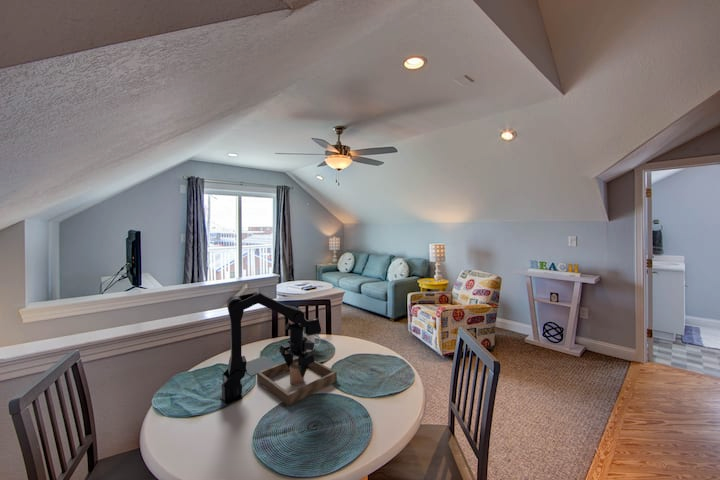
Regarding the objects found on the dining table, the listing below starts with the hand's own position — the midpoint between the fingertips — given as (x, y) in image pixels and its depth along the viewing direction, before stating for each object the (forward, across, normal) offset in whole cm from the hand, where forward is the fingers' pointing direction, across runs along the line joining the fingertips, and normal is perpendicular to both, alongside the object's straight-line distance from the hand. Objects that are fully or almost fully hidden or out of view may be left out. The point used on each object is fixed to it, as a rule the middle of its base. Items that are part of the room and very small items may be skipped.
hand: (296, 372), depth 130 cm
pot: (+4, 0, 0) cm, 4 cm away
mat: (+4, +25, +5) cm, 26 cm away
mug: (+4, +22, -23) cm, 32 cm away
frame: (+4, 0, 0) cm, 4 cm away
